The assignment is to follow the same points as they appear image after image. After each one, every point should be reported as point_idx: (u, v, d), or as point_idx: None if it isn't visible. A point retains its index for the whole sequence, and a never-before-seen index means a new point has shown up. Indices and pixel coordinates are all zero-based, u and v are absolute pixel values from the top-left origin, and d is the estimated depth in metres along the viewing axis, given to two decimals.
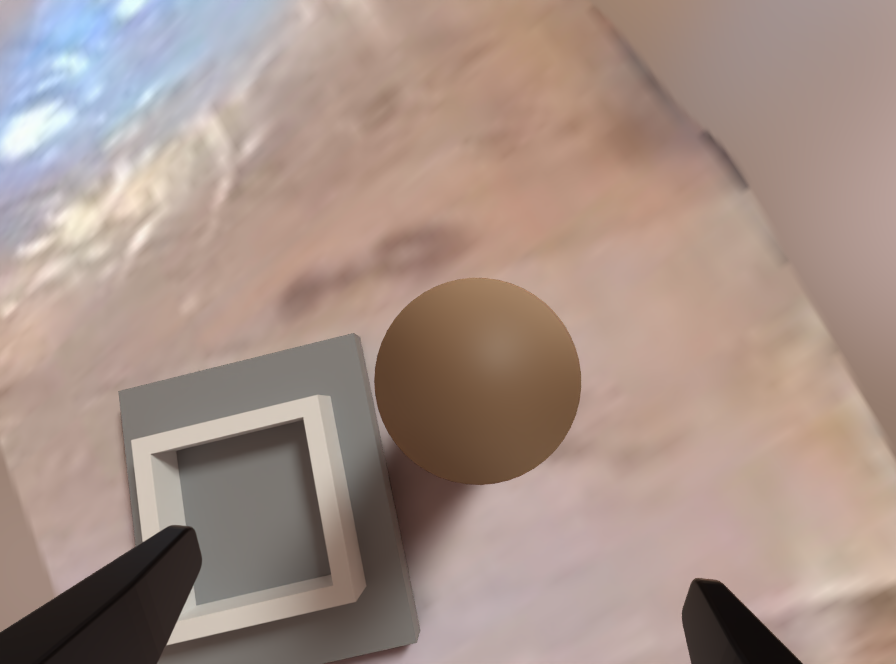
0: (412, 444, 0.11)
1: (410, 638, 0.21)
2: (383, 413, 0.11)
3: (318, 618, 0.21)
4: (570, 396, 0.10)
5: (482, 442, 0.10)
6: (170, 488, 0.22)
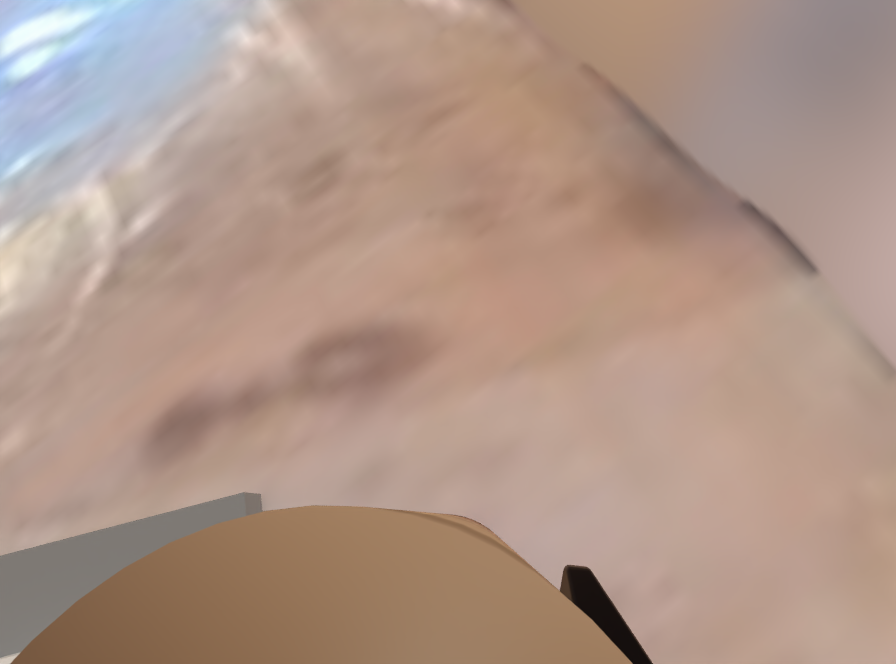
0: None
1: None
2: None
3: None
4: None
5: None
6: None
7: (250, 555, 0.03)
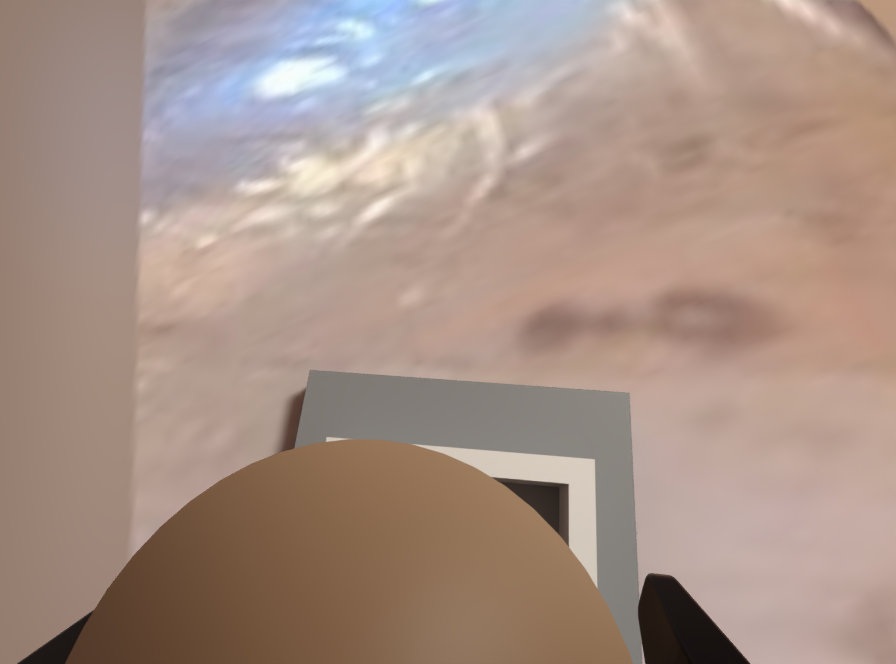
0: None
1: None
2: None
3: None
4: None
5: None
6: None
7: (306, 471, 0.04)
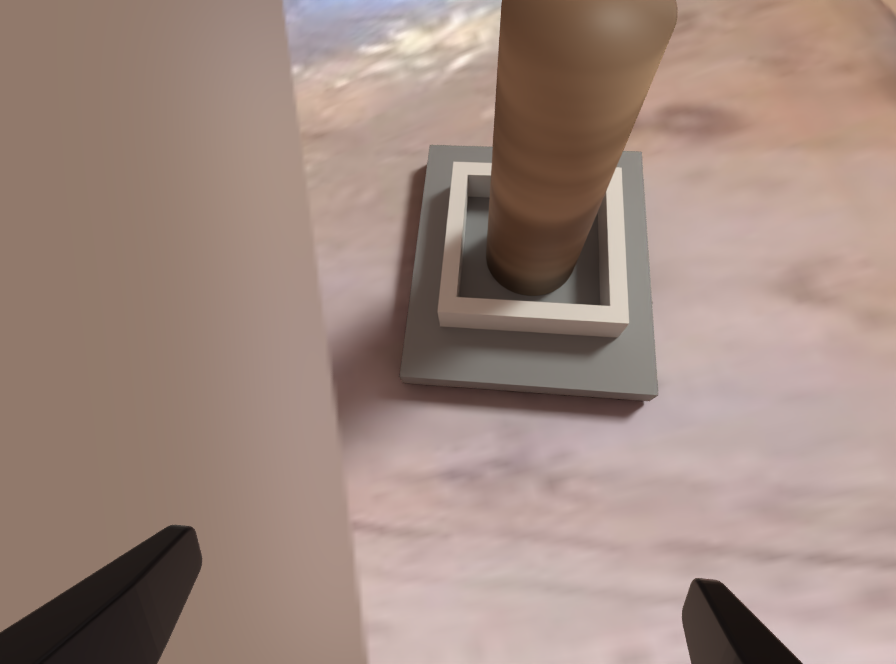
0: (538, 47, 0.12)
1: (652, 390, 0.22)
2: (511, 30, 0.13)
3: (567, 351, 0.23)
4: (669, 13, 0.12)
5: (599, 43, 0.12)
6: (465, 213, 0.25)
7: None
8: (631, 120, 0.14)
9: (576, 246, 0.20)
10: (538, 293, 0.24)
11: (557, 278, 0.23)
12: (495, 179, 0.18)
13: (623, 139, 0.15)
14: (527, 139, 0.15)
